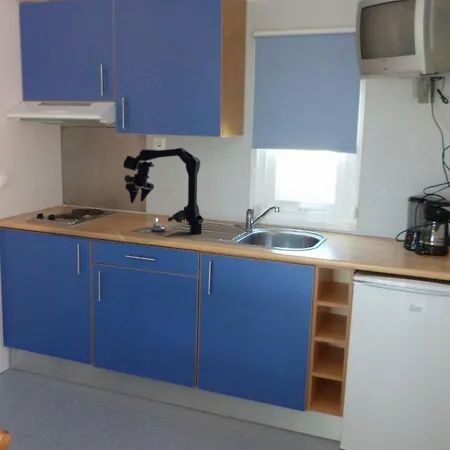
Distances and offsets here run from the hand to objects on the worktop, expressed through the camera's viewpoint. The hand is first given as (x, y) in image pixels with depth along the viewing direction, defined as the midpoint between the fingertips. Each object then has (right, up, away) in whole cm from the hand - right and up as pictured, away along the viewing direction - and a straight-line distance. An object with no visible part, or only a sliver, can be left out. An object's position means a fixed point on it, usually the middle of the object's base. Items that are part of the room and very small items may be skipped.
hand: (136, 202), depth 281 cm
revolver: (+23, -12, +25) cm, 36 cm away
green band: (+7, -16, -5) cm, 19 cm away
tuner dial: (+11, -14, -1) cm, 18 cm away
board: (+10, -16, -2) cm, 19 cm away
